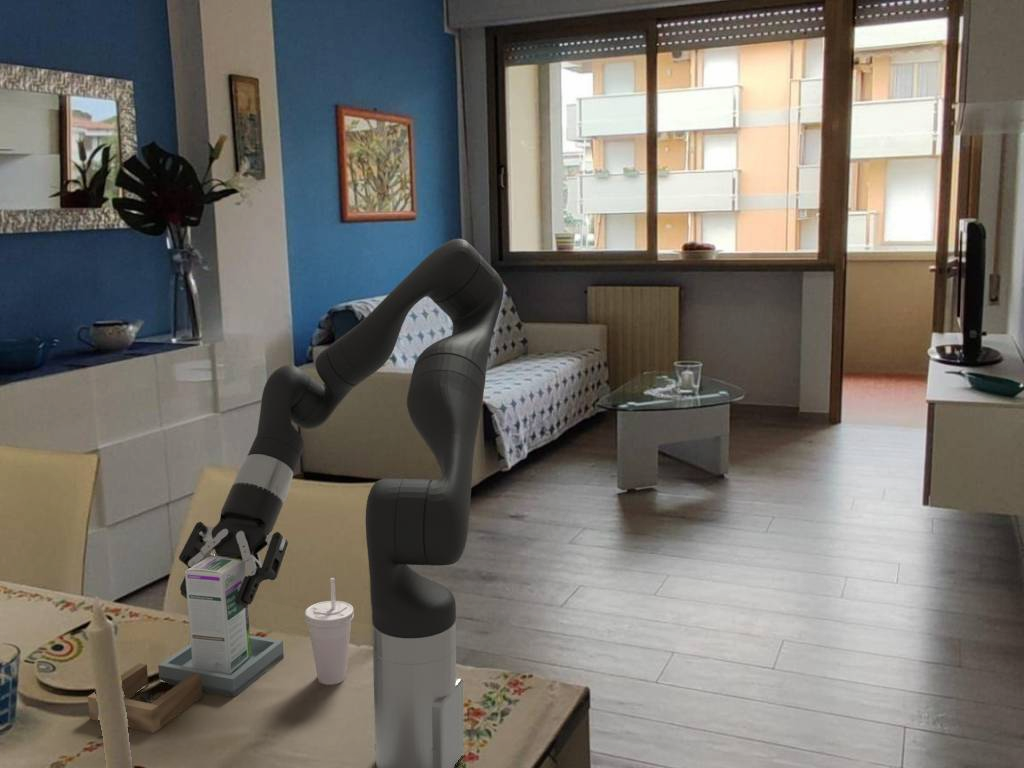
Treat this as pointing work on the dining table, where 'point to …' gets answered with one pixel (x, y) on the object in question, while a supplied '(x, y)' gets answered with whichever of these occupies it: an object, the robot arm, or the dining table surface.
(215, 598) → the syrup box
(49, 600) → the dining table surface
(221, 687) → the tray
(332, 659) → the smoothie
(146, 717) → the holder
